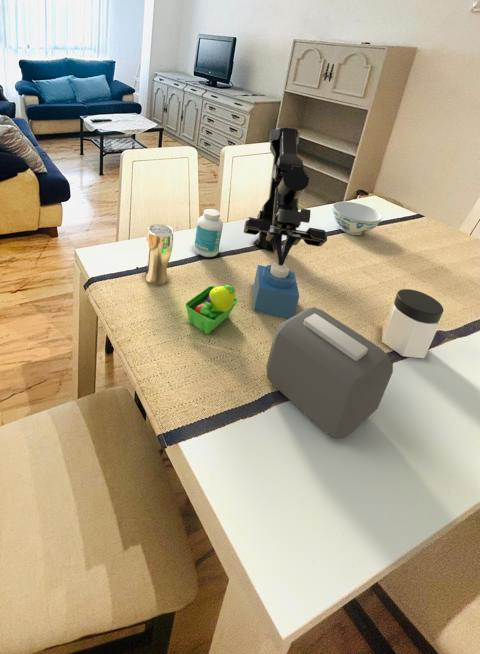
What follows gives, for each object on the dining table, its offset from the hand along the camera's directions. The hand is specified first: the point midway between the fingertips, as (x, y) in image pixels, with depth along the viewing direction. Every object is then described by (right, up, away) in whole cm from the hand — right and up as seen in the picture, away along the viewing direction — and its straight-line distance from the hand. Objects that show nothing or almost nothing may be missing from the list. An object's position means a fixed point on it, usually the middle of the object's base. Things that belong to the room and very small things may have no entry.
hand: (280, 265), depth 94 cm
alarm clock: (-3, -20, -21) cm, 30 cm away
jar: (+24, -16, -7) cm, 30 cm away
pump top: (0, -2, +1) cm, 3 cm away
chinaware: (+43, +2, +43) cm, 60 cm away
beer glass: (-29, -6, +11) cm, 32 cm away
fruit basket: (-18, -13, -3) cm, 22 cm away
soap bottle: (-1, -10, +4) cm, 11 cm away
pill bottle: (-13, -2, +25) cm, 28 cm away
